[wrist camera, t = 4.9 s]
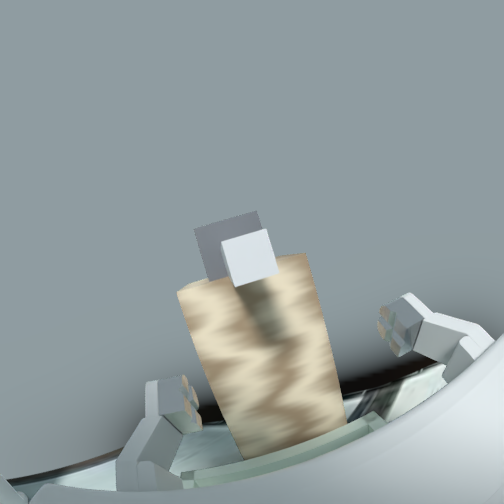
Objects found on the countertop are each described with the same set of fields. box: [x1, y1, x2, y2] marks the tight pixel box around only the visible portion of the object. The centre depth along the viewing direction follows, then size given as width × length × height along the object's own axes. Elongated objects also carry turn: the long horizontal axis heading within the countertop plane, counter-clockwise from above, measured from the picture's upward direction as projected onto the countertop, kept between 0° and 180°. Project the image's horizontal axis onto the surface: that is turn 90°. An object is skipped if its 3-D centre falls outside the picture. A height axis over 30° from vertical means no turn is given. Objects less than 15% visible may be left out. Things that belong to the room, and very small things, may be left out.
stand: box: [177, 253, 347, 461], centre depth 29 cm, size 12×10×26 cm
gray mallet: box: [194, 211, 279, 287], centre depth 23 cm, size 6×18×5 cm, turn 7°
